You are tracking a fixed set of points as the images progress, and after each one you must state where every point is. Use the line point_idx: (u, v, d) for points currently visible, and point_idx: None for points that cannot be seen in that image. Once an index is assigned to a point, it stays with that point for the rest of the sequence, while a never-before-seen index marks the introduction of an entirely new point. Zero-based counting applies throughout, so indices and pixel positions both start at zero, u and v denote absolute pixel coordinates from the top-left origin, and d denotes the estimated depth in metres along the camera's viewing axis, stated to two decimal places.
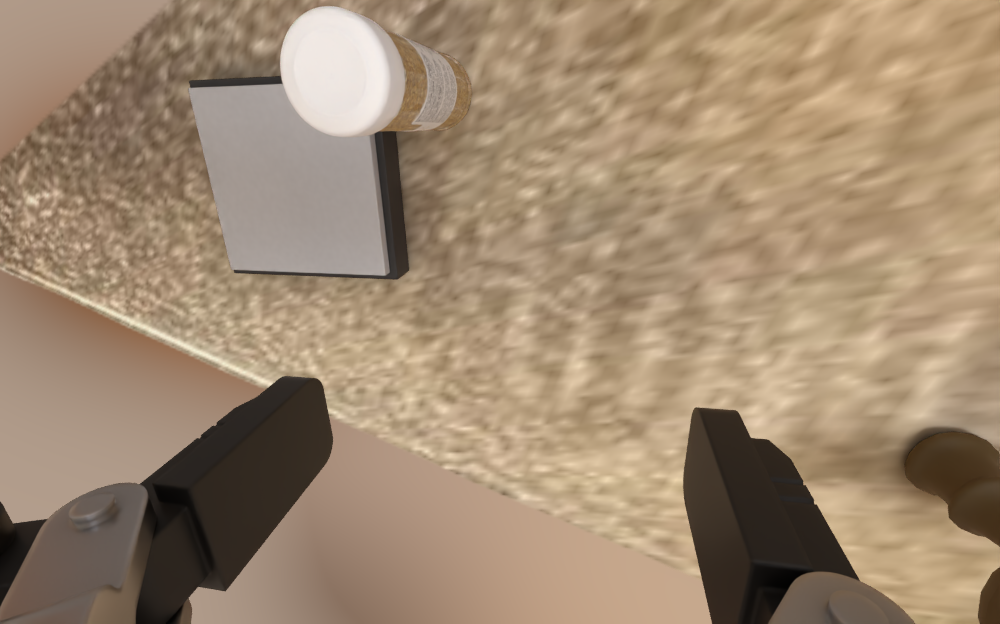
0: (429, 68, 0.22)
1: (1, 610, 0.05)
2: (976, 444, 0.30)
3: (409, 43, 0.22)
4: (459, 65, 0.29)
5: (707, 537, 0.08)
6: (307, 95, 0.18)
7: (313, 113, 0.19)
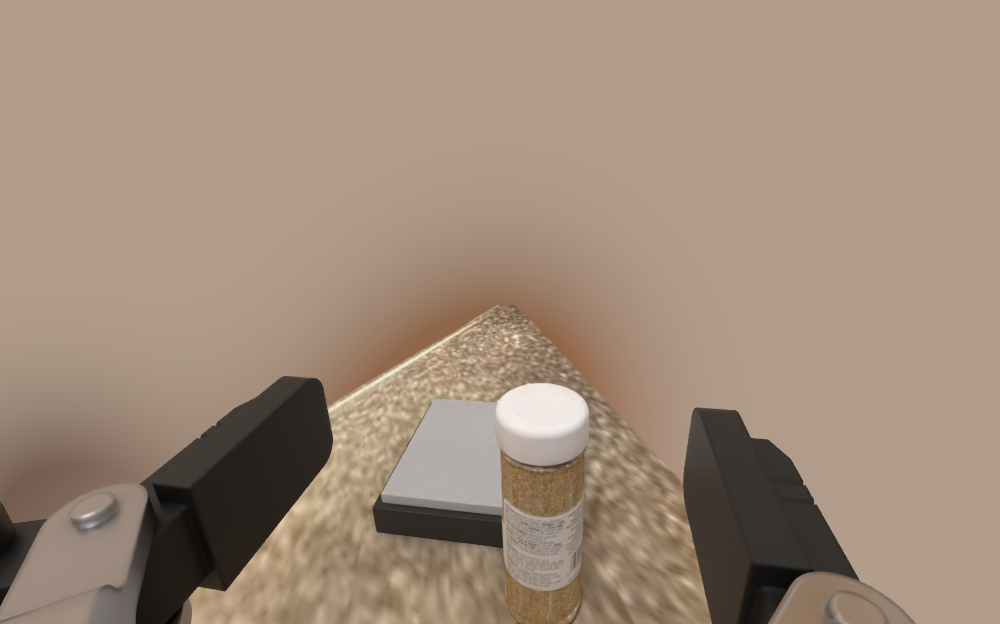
0: (549, 525, 0.23)
1: (1, 610, 0.05)
2: None
3: (571, 508, 0.23)
4: (565, 620, 0.26)
5: (707, 537, 0.08)
6: (529, 391, 0.24)
7: (516, 392, 0.24)
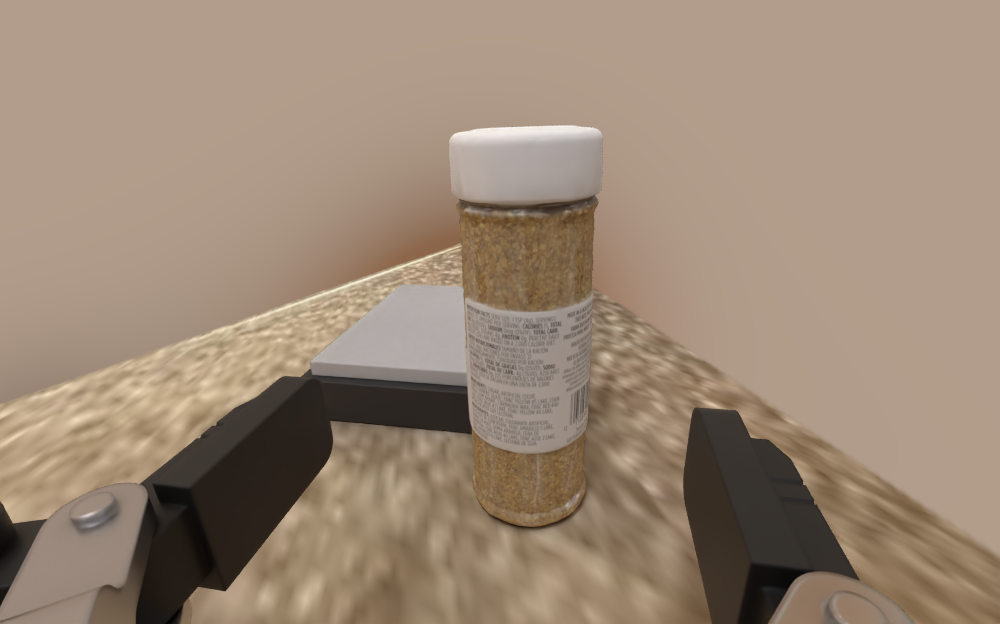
0: (536, 327, 0.14)
1: (2, 609, 0.05)
2: None
3: (572, 303, 0.14)
4: (562, 509, 0.17)
5: (707, 537, 0.08)
6: (507, 128, 0.15)
7: None
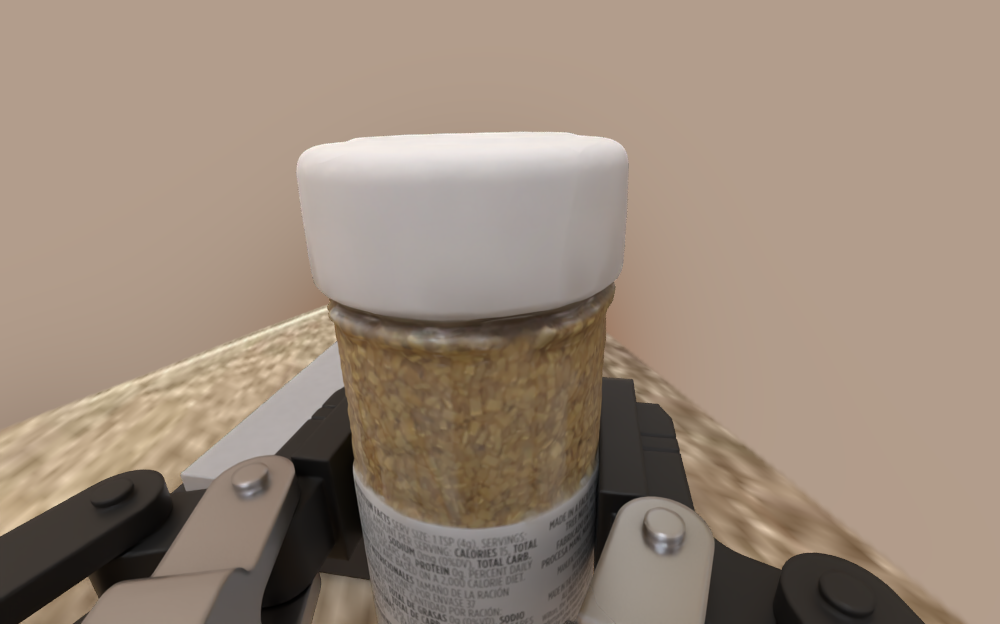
0: (484, 555, 0.07)
1: (165, 559, 0.06)
2: None
3: (559, 499, 0.07)
4: None
5: None
6: (439, 136, 0.08)
7: None
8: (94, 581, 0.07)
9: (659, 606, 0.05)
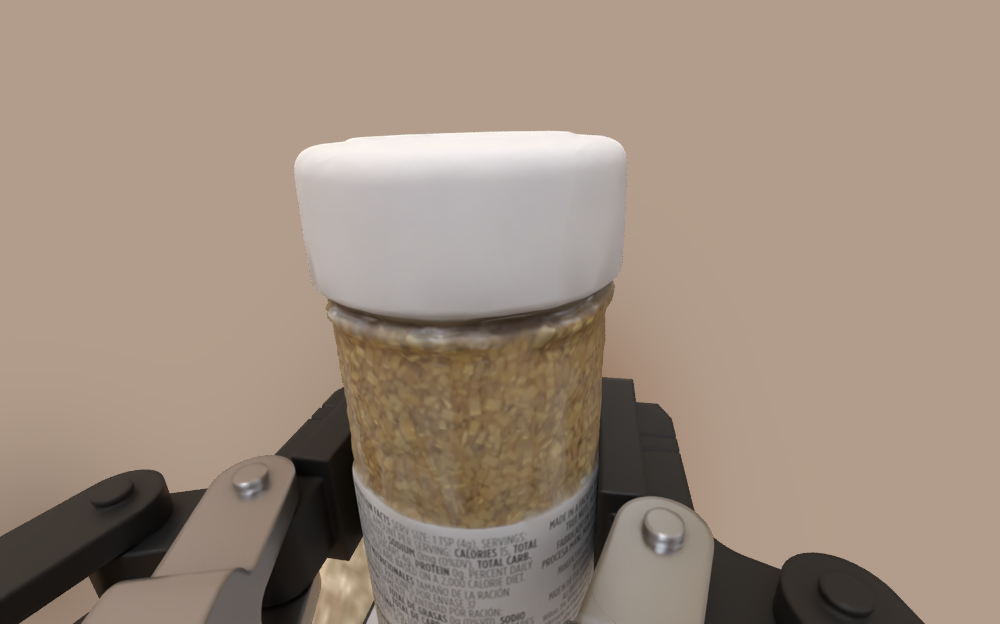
0: (484, 555, 0.07)
1: (166, 559, 0.06)
2: None
3: (559, 499, 0.07)
4: None
5: None
6: (437, 136, 0.08)
7: None
8: (94, 581, 0.07)
9: (659, 605, 0.05)
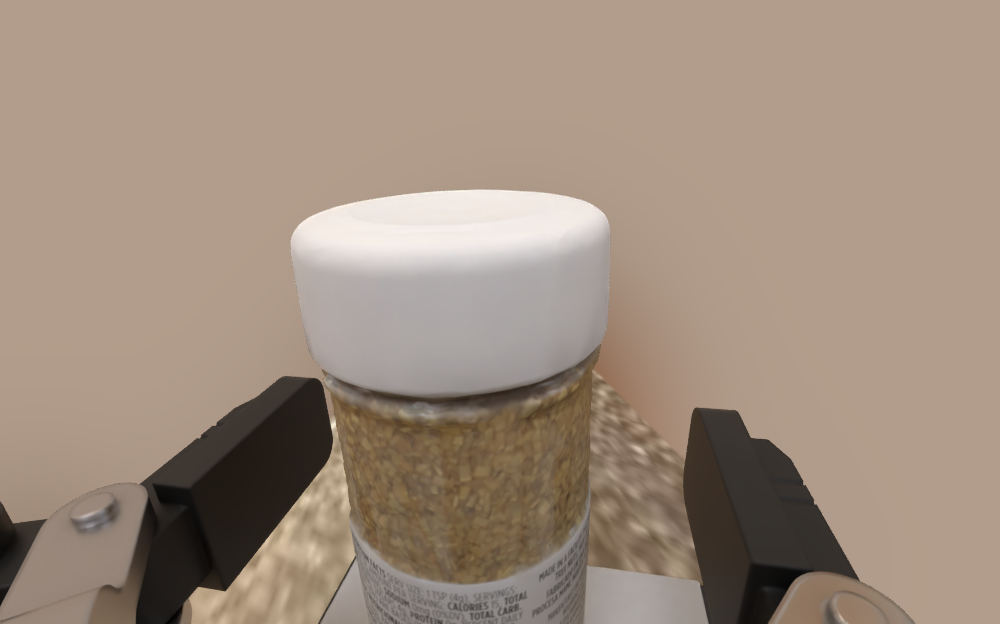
0: (476, 608, 0.07)
1: (1, 610, 0.05)
2: None
3: (548, 552, 0.07)
4: None
5: (707, 537, 0.08)
6: (429, 195, 0.08)
7: None
8: None
9: None
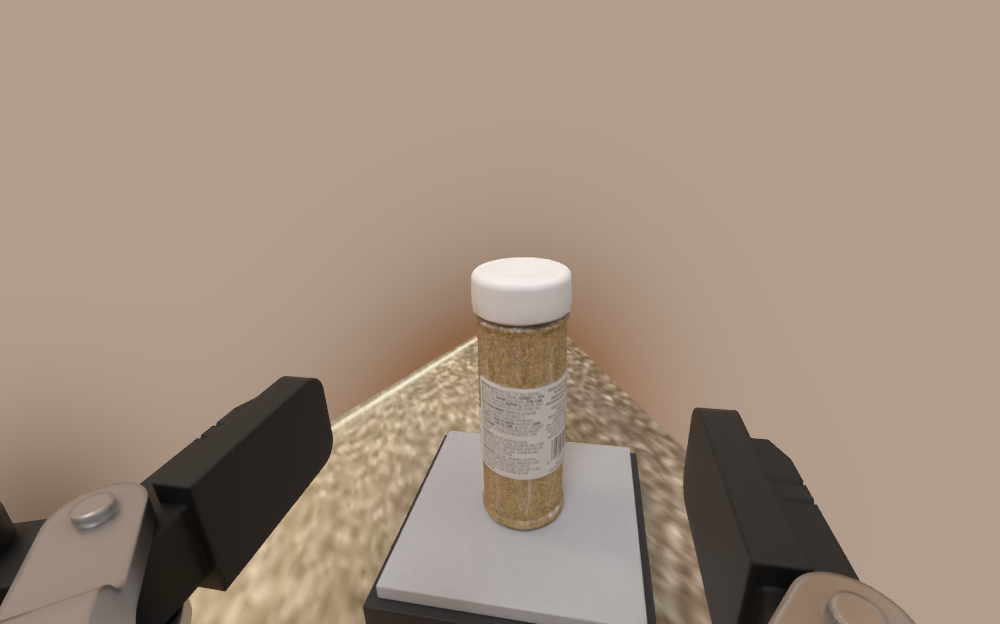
0: (528, 398, 0.21)
1: (1, 610, 0.05)
2: None
3: (551, 382, 0.22)
4: (546, 517, 0.24)
5: (707, 537, 0.08)
6: (509, 261, 0.22)
7: (495, 261, 0.22)
8: None
9: None
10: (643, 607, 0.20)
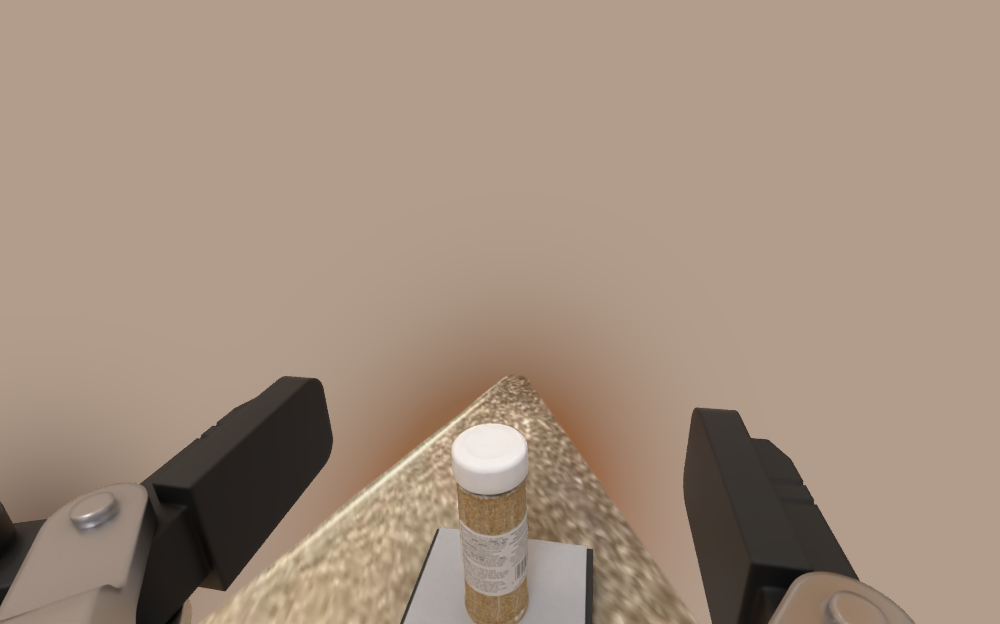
0: (495, 542, 0.28)
1: (1, 610, 0.05)
2: None
3: (513, 528, 0.28)
4: (512, 620, 0.31)
5: (707, 537, 0.08)
6: (481, 431, 0.29)
7: (470, 431, 0.29)
8: None
9: None
10: None
